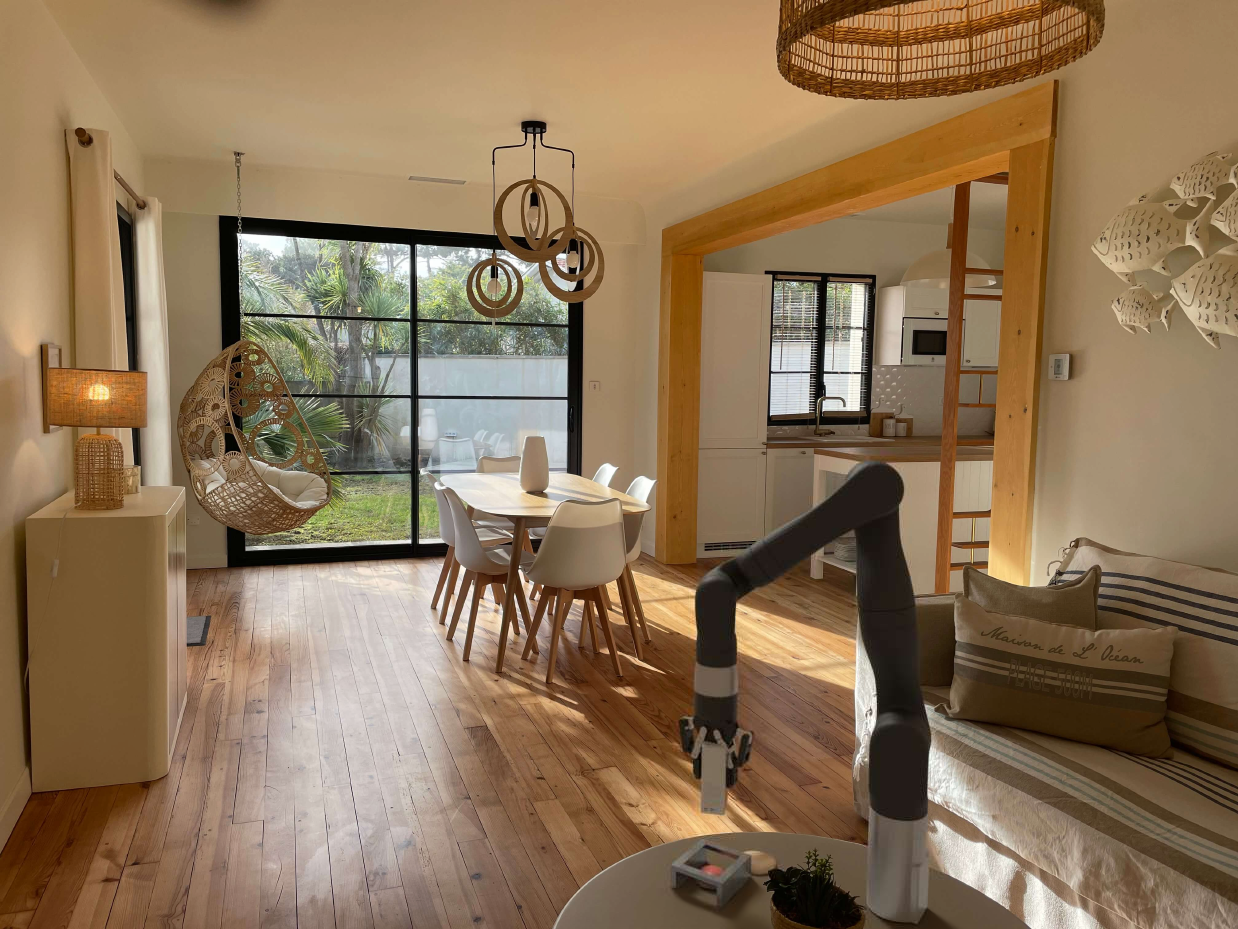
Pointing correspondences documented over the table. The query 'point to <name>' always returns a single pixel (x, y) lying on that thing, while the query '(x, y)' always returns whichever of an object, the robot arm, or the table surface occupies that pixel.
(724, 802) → the skincare box
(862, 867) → the table surface
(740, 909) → the table surface
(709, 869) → the button
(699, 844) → the grey square frame
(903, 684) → the robot arm
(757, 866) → the coaster
